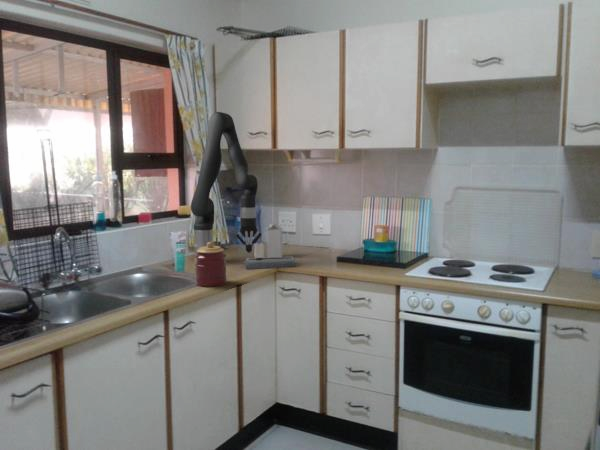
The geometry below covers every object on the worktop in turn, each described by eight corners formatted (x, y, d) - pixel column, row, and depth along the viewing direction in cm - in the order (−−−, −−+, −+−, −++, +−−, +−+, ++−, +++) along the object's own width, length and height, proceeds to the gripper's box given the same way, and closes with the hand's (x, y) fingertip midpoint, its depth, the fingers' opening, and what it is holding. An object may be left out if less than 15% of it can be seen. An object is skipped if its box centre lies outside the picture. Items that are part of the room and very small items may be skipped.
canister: (212, 288, 210) (211, 245, 208) (188, 284, 217) (187, 242, 215) (233, 282, 221) (232, 240, 219) (209, 278, 228) (208, 238, 226)
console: (246, 269, 247) (245, 262, 247) (243, 264, 259) (243, 257, 258) (295, 267, 252) (295, 259, 251) (291, 262, 263) (291, 255, 263)
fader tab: (255, 262, 251) (255, 244, 250) (254, 260, 256) (254, 242, 255) (263, 262, 252) (263, 244, 251) (262, 260, 257) (262, 242, 256)
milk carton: (282, 256, 280) (282, 221, 278) (280, 258, 273) (280, 222, 270) (269, 256, 281) (269, 221, 278) (267, 258, 274) (266, 222, 271)
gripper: (234, 217, 245) (235, 254, 247) (262, 217, 248) (263, 253, 250) (233, 216, 253) (234, 251, 255) (261, 215, 255) (261, 250, 257)
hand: (248, 252), depth 252 cm, fingers closed
